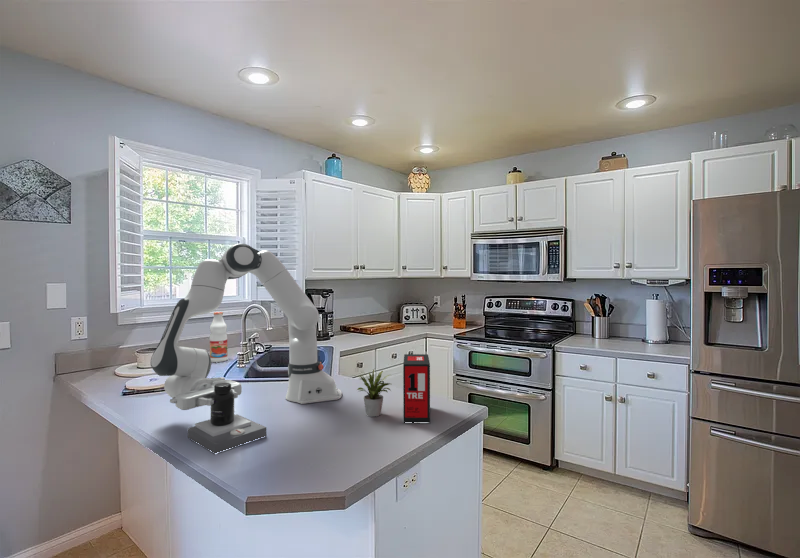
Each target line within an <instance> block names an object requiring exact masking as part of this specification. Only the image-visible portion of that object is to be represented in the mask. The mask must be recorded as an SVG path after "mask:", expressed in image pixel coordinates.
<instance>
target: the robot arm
mask: <svg viewBox="0 0 800 558" xmlns="http://www.w3.org/2000/svg"><path fill="white" fill-rule="evenodd" d="M248 273H250V274H252V275H254V276H255V277H256V278H257V279H258V280H259V282H260V283H261V284H262V286H263V287H264V289H265V290H266V291H267V293H268V294H269V295H270V297H271V298H272V299H273V300H274V302H275V303H276V304H277V306H278V307H279V309H280V311H282V312H283V314H284V315H285V316H286V318H287V320H288V321H287V323H288V340H289V341H288V342H289V346H288V348H289V352H288V353H289V354H288V355H289V356H288V357H289V358H288V359H289V362H288V365H287V374H288V385H287V391H286V395H285V399H286V401H289V402H294V403H298V404H302V405H303V404H304V405H305V404H312V403H320V402H328V401H337V400H339V399H341V398H342V396H343V393H342V390H341V389H340V388H337V384H336V380H335V379H334V377H332V376H331V375H329V373H326V372H325V371H323V369H324V365H323V363H322V362H321V361H319V360H318V340H317V338H318V337H317V331H316V328H317V327H316V326H317V324H318V322H319V317H320V315H319V314H320V313H319V311H318V308H317V307H316V306H315V305H314V303H313V302H312V300H311V299H310V298H309V297H308V296H307V294H306V293H305V292H304V290H303V289H302V288H301V287H300V285H299V284H298V282H297V281H296V279H294V277H293V276H292V275H291V273H290V272H289V270H288V269H287V268H286V267H285V265H284V264H283V262H281V260H280V259H279V258H278V257H277V256H276V255H275V254H274V253H273V252H271V251H270V250H267V249H266V250H261V251H259V250H258V249H255V248H254V247H252V246H250V245H249V244H246V243H236V244H233V245H231V246H230V247H229V248H228V249H226V251H225V252H224V253H223V255H222V256H221V257H220V258H219V259H212V258H211V259H210V258H207V259H204V260H202V261H200V262H199V264H198V265H197V268H196V269H195V273H194V275H193V277H192V281H191V285H190V289H189V291H188V293H187V295H186V296H185V297H184V298H181V299H179V300H178V301H177V303H176V304H175V306H174V308H173V309H172V312H171V315H170V317H169V320H168V322H167V324H166V326H165V329H164V332H163V334H162V336H161V337H160V338H161V339H160V341H159V342H158V344H157V347H156V348H155V349H154V351H153V353H152V356H151V359H150V367H151V369H152V370H153V372H154V373H155V374H156V375H157V376H159V377H167V378H166V379H165V380H164V386H163V388H164V391H165V393H166V394H167V395H168V396H169V397H170V398H171V399H170V400H169V403H171V404H175V407H176V408H177V409H180V410H181V411H188V410H191V409H192V410H193V409H195V408H199V407H203V406H208V407H211V405H214V399H212V398H211V396H212V394H213V393H215V391H214V386H215V384H218V383H231V390H230V391H231V392H233V393H234V400H235V399H237V398H238V397H239V396H240V395H241V394H242V392H243V391H242V388H243V387H242V383H240V382H239V381H235V380H230V379H226V378H225V377H222V376H221V377H220V376H219V377H211V378H208V377H209V374H210V372H211V369H212V362H211V358H210V352H208V350H206V349H203V348H196V347H187V346H181V345H180V346H179V340H180V338H181V336H182V333H183V330H184V329H185V326H186V323H187V322H188V320H190V319H192V318H193V317H197V316H201V315H207V314H209V313H213V312H215V311H216V310H218V308H219V307H220V306H221V304H222V302H223V298H224V293H225V289H226V284H227V281H228V280H234V279H239V278H242V277H244V276H245V275H246V274H248Z"/></svg>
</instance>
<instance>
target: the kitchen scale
mask: <svg viewBox="0 0 800 558" xmlns="http://www.w3.org/2000/svg"><path fill="white" fill-rule="evenodd" d="M264 436H267V426H264V425H263V424H260V423H258V422H255V421H254V420H252V419H251V420H250V419H249V418H247V417H244V416H242V415H240V414H235V413H234V421H233V422H232V423H231V424H228V425H224V426H214V425H212V424H211V419H210V418H209V419H207V420H203V421H199V422H196V423H194V426H191V427H187V438H188V439H189V438H190V439H189V440H191V439H192V440H193V442H194V441H195V442H194V443H196V442H197V443H199V444H200V445H202V446H204V447H205V448H207V449H209V450H211V451H212V452H214V453H217V452H220V451H223V450H226V449H229V448H232V447H235V446H238V445H240V444H244V443H246V442H249V441H253V440H255V439H258V438H261V437H264ZM192 440H191V441H192ZM253 442H254V441H253ZM197 443H196V444H197ZM199 444H198V445H199ZM200 445H199V446H200ZM244 445H245V444H244ZM202 446H201V447H202ZM204 447H203V448H204ZM205 448H204V449H205ZM207 449H206V450H207ZM209 450H208V451H209ZM212 452H211V453H212ZM214 453H213V454H214Z"/></svg>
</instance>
